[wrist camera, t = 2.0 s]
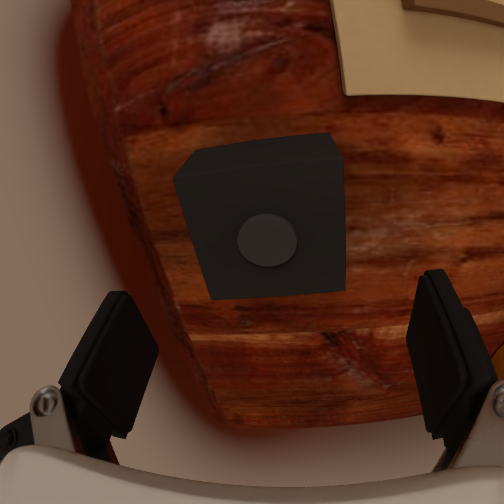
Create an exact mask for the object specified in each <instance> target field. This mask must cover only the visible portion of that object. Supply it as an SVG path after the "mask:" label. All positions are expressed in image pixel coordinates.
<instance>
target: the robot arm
mask: <svg viewBox="0 0 504 504" xmlns="http://www.w3.org/2000/svg"><path fill="white" fill-rule="evenodd" d="M406 342H407V347H408V351H409V354H410V358H411V362H412V366H413V370H414V375H415V379H416V383H417V388H418V392H419V397H420V401H421V406H422V411H423V416H424V421H425V427H426V430H427V432H428V433H430V432H431V433H432V438H433V440H434V439H439V438H443V440H444V446H445V447H446V448H445V450H444V452H443V454H442V455H441V457H440V459H439V460H438V462H437V464H436V465H435V467H434V468H433V470H432V472H431V473H426V474H421V475H416V476H410V477H404V478H399V479H392V480H385V481H377V482H369V483H361V484H351V485H339V486H323V487H258V486H257V487H256V486H241V485H228V484H219V483H210V482H202V481H195V480H188V479H182V478H176V477H170V476H165V475H160V474H155V473H150V472H146V471H141V470H136V469H133V468H129V467H125V466H121V465H120V464H119V462H118V460H117V457H116V455H115V452H114V450H113V447H112V445H111V442H110V438H111V435H112V436H114V437H118V438H123V439H126V437H127V434H128V432H130V431H131V430H132V428H133V425H134V422H135V419H136V416H137V413H138V410H139V407H140V404H141V401H142V399H143V396H144V393H145V390H146V387H147V384H148V381H149V378H150V376H151V373H152V370H153V367H154V365H155V362H156V359H157V356H158V353H159V348H158V345H157V343H156V341H155V339H154V337H153V336H152V334H151V332H150V330H149V328H148V327H147V325H146V323H145V321H144V319H143V317H142V315H141V313H140V311H139V309H138V308H137V306H136V304H135V302H134V300H133V298H132V296H130V295H128V293H127V292H125V291H111V292H109V293H108V294H107V296H106V297H105V299H104V300H103V302H102V304H101V305H100V307H99V309H98V311H97V312H96V314H95V316H94V317H93V319H92V321H91V322H90V324H89V326H88V328H87V330H86V331H85V333H84V335H83V337H82V338H81V340H80V342H79V344H78V346H77V347H76V349H75V351H74V353H73V355H72V357H71V358H70V360H69V362H68V364H67V366H66V368H65V370H64V372H63V374H62V376H61V378H60V380H59V382H58V383H59V384H60V385H61V388H60V390H59V389H58V388H57V387H55V386H45V387H43V388H41V389H40V390H39V391H37V392H36V393H35V394H34V396H33V398H32V400H31V403H30V412H29V413H27V414H25V415H23V416H22V417H20V418H18V419H16V420H15V421H13V422H11V423H9V424H8V425H6V426H4V427H3V428H2V429H1V430H0V504H504V379H501V380H498V377H497V374H496V371H495V369H494V366H493V364H492V361H491V359H490V356H489V354H488V351H487V349H486V347H485V344H484V342H483V339H482V337H481V335H480V333H479V330H478V328H477V326H476V324H475V322H474V320H473V317H472V315H471V313H470V312H469V310H468V309H466V308H463V306H462V304H461V302H460V300H459V298H458V296H457V294H456V292H455V290H454V288H453V286H452V284H451V282H450V280H449V278H448V276H447V275H446V273H445V271H444V270H443V269H436V270H427V271H425V273H424V276H420V277H419V280H418V285H417V290H416V295H415V300H414V304H413V309H412V313H411V318H410V322H409V326H408V330H407V334H406Z"/></svg>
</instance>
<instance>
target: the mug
mask: <svg viewBox="0 0 504 504" xmlns="http://www.w3.org/2000/svg"><path fill="white" fill-rule="evenodd" d="M491 361H492V364H493V366H494V369H495V371H496V374H497V377H498V380H501V379H504V344H503V345H502V346H501V347H500V348H499V349H498V350H497V352H496V353H495V354H494V356H493V357H492V358H491Z"/></svg>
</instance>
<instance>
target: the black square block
mask: <svg viewBox="0 0 504 504" xmlns="http://www.w3.org/2000/svg"><path fill="white" fill-rule="evenodd" d="M173 180H174V183H175V187H176V190H177V194H178V197H179V200H180V204H181V207H182V210H183V214H184V217H185V220H186V223H187V227H188V230H189V233H190V236H191V239H192V243H193V246H194V249H195V252H196V255H197V258H198V261H199V264H200V267H201V270H202V273H203V276H204V279H205V282H206V285H207V288H208V291H209V294H210V297H211V300H224V299H241V298H257V297H272V296H286V295H299V294H312V293H323V292H335V291H345V276H346V233H345V196H344V174H343V157H342V156H341V154H340V152H339V150H338V148H337V146H336V144H335V142H334V141H333V139H332V137H331V135H330V133H319V134H308V135H298V136H288V137H279V138H271V139H263V140H255V141H248V142H241V143H234V144H228V145H221V146H215V147H209V148H204V149H198V150H195V151H194V152H193V154H192V155H191V156H190V157H189V159H188V160H187V161H186V162H185V164H184V165H183V166H182V167H181V169H180V170H179V171H178V172H177V174H176V175H175V176H174V177H173Z"/></svg>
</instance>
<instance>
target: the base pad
mask: <svg viewBox="0 0 504 504" xmlns="http://www.w3.org/2000/svg"><path fill="white" fill-rule="evenodd" d="M330 5H331V11H332V17H333V22H334V28H335V35H336V41H337V48H338V55H339V62H340V70H341V78H342V87H343V93H344V94H345V95H347V96H356V95H425V96H444V97H458V98H469V99H479V100H488V101H496V102H503V103H504V0H330Z"/></svg>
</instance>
